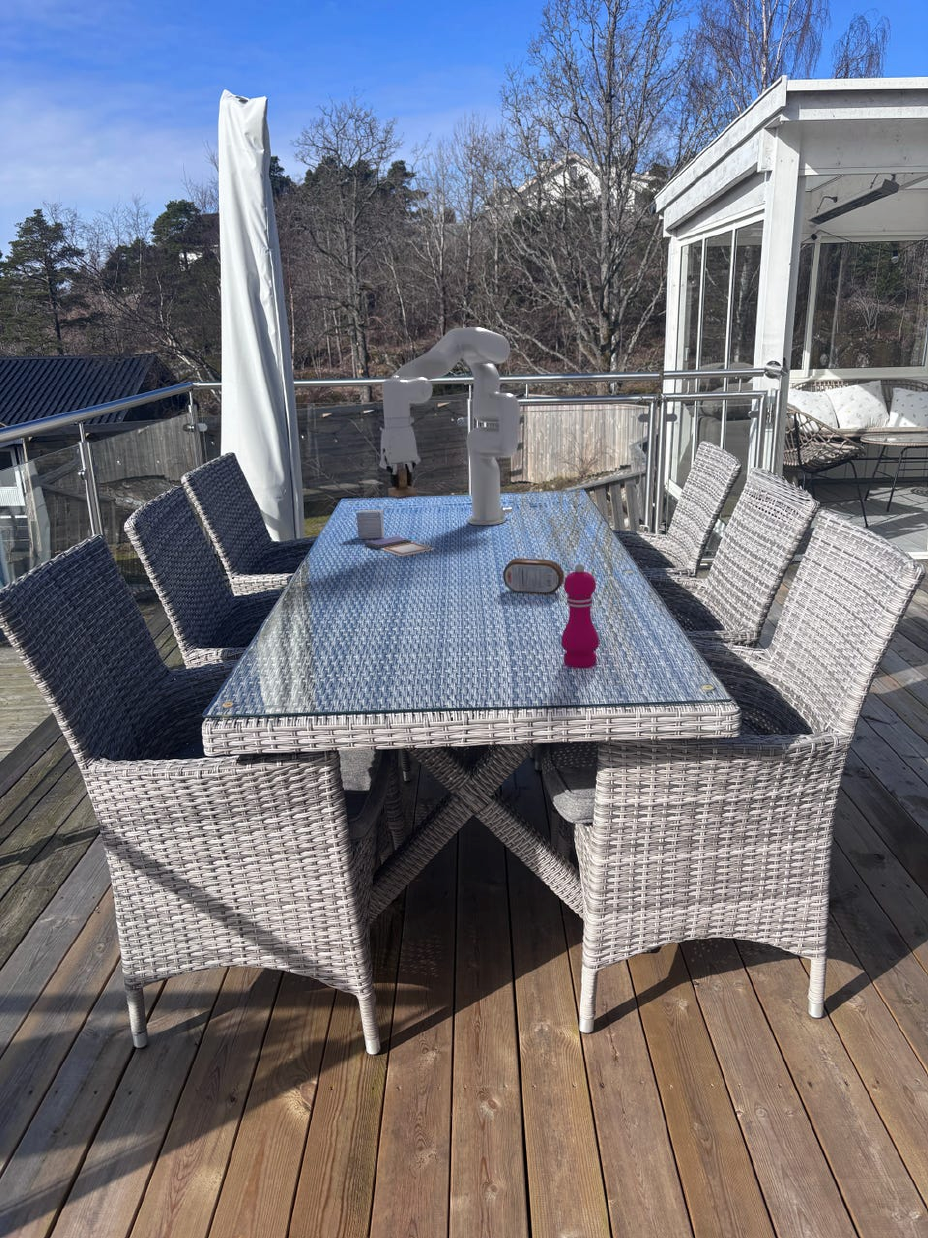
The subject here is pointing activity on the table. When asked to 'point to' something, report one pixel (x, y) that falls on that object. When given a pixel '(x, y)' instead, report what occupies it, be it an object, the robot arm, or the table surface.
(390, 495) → the stamp
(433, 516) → the table surface
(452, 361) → the robot arm
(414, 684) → the table surface
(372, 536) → the medicine box
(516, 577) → the tin
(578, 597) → the pepper mill
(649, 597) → the table surface
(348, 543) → the table surface
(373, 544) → the ink pad
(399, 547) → the cream card
